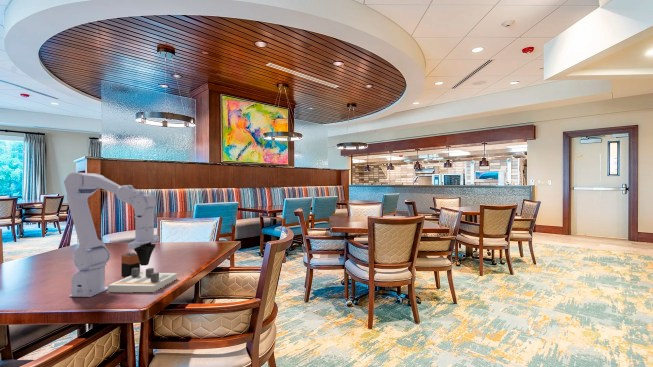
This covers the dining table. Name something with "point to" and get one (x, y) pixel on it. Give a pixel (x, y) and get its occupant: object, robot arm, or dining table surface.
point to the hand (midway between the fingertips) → (144, 265)
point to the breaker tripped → (154, 277)
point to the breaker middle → (149, 272)
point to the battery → (129, 263)
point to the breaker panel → (141, 283)
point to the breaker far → (135, 272)
